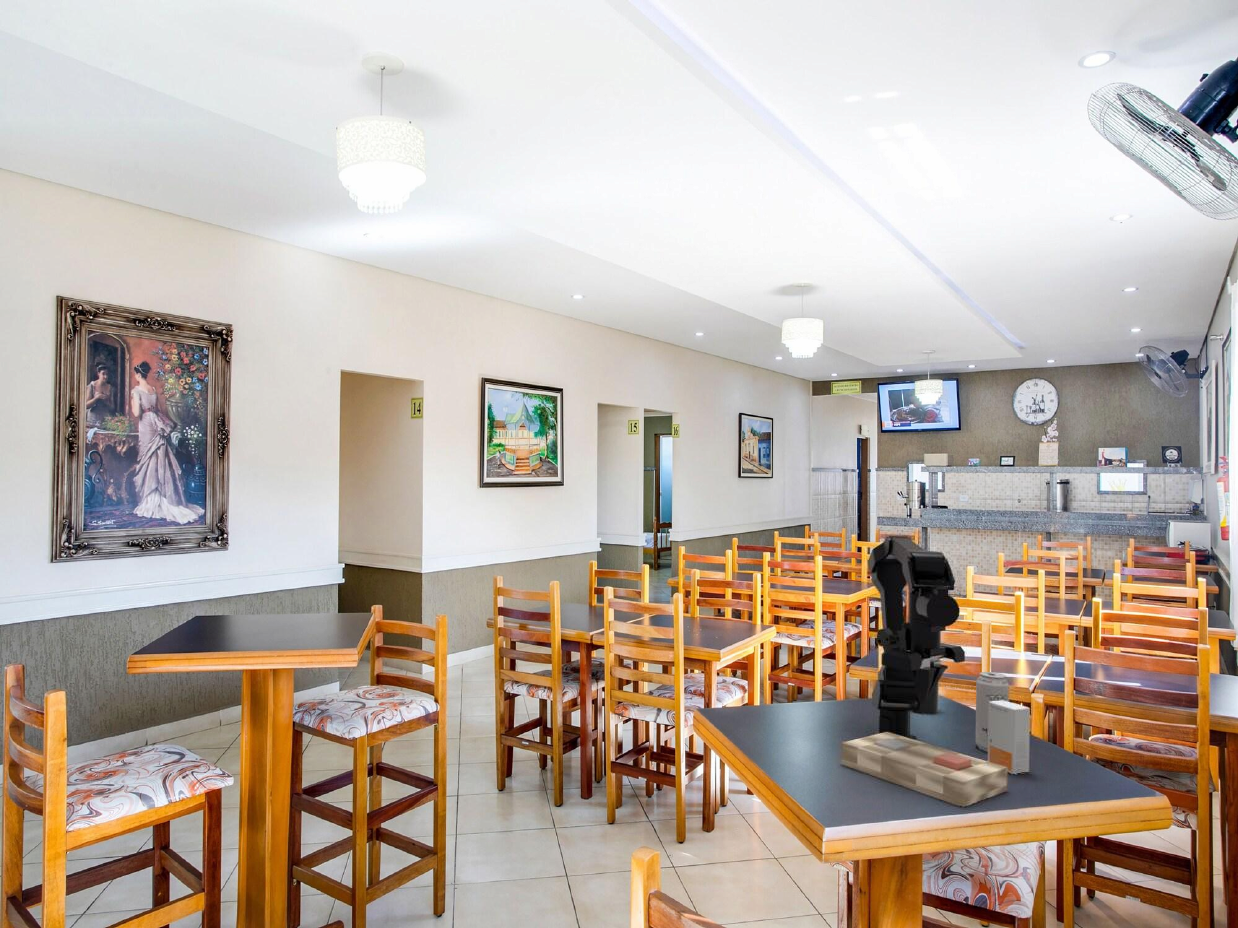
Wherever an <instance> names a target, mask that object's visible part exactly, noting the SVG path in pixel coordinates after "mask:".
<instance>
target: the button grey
mask: <svg viewBox="0 0 1238 928" xmlns="http://www.w3.org/2000/svg"><path fill="white" fill-rule="evenodd" d="M875 745H877V746H881V747H884V748H887V749H890V750H893V751H899V750H903V749H907V748H910V744H908V743H904V742H901V741H898V740H894V739H891V738H887V739H883V740H879V741H875Z"/></svg>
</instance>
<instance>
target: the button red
mask: <svg viewBox="0 0 1238 928" xmlns="http://www.w3.org/2000/svg"><path fill="white" fill-rule="evenodd" d="M971 762H972V759H968V758H965V757H962V756H958V755H955V754H952V753H944V754H941V755H937V756H934V764H937V765H941V766H944V767H947V768H950V769H953V770H956V771H960V770H963V769H966V768H969V767H971Z"/></svg>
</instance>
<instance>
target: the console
mask: <svg viewBox="0 0 1238 928" xmlns="http://www.w3.org/2000/svg"><path fill="white" fill-rule="evenodd" d="M887 738H891V739H894V740H898V741H901V742H904V743H908V744H910V748H907V749H903V750H899V751H893V750H890V749H887V748H884V747H881V746H877V745H875V741H879V740H883V739H887ZM944 753H952V754H955V755H958V756H962V757H965V758H968V759H972V762H971V767H969V768H966V769H963V770H960V771H956V770H953V769H950V768H947V767H944V766H941V765H937V764H934V756H937V755H941V754H944ZM840 760H841V765H842V766H844V767H847V768H850V769H854V770H856V771H859V772H862V773H865V774H867V775H870V776H874V777H875V778H878V779H882V780H884V781H888V782H889V783H893V784H896V785H899V786H901V787H904V788H907V789H910V790H913V791H915V792H918V793H921V794H924V795H927V796H929V797H932V798H936V799H938V800H941V801H944V802H946V803H949V804H952V805H955V806H958V807H960V806H962V807H961V808H966V807H968V806H971V805H973V803H974V804H976V803H978V801H979V802H981V800H982V801H983V800H986V798H987V799H989V798H992V797H995V796H997V795H1000V794H1003V793H1005V792H1008V772H1007V767H1004V766H1001V765H997V764H994V763H991V762H987V760H984V759H980V758H977V757H973V756H970V755H966V754H963V753H960V752H956V751H954V750H950V749H946V748H944V747H939V746H935V745H934V744H933V745H932V744H929V743H926V742H923V741H919V740H917V739H915V740H913V739H910V738H906V737H903V736H900V735H896V734H893V733H890V732H884V733H880V734H876V735H873V734H871V735H868V736H864V737H860V738H855V739H852V740H847V741H843V742H841V759H840ZM965 806H966V807H965Z"/></svg>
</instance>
